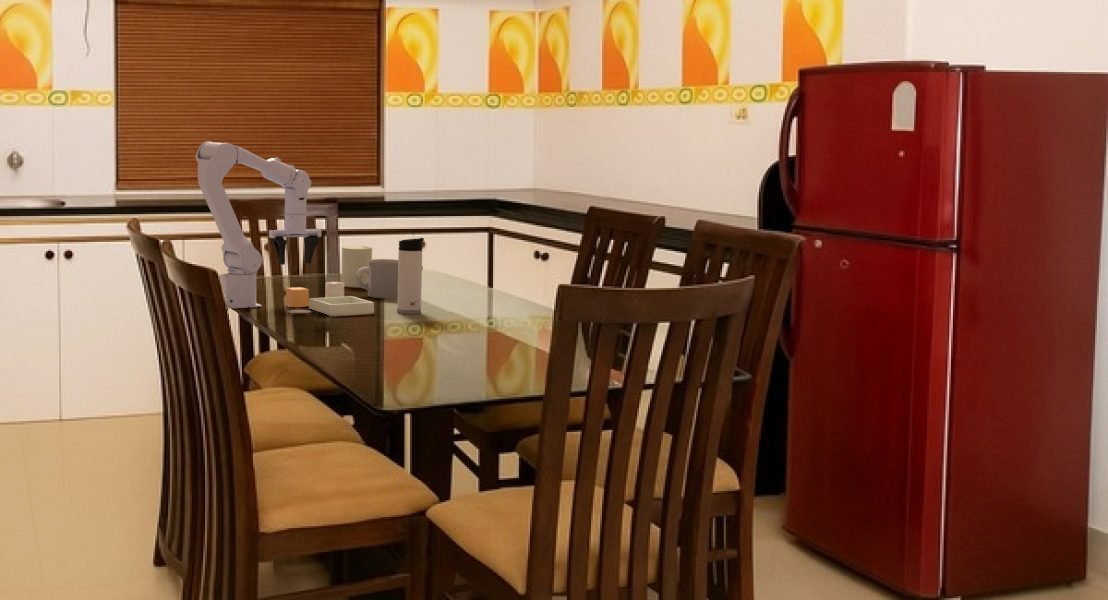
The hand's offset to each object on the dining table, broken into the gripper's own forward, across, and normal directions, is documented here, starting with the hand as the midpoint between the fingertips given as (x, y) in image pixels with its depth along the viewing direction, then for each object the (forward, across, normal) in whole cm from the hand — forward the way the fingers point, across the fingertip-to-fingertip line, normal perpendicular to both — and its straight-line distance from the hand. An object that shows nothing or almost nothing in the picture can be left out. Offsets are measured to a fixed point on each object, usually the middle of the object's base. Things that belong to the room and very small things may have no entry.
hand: (295, 263), depth 377 cm
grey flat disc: (+11, +8, +19) cm, 23 cm away
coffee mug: (+11, -28, -3) cm, 30 cm away
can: (+11, -32, -25) cm, 42 cm away
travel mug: (+11, -20, +29) cm, 37 cm away
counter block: (+10, +3, +9) cm, 14 cm away
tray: (+10, -4, +21) cm, 24 cm away
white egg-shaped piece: (+10, -8, +9) cm, 16 cm away
